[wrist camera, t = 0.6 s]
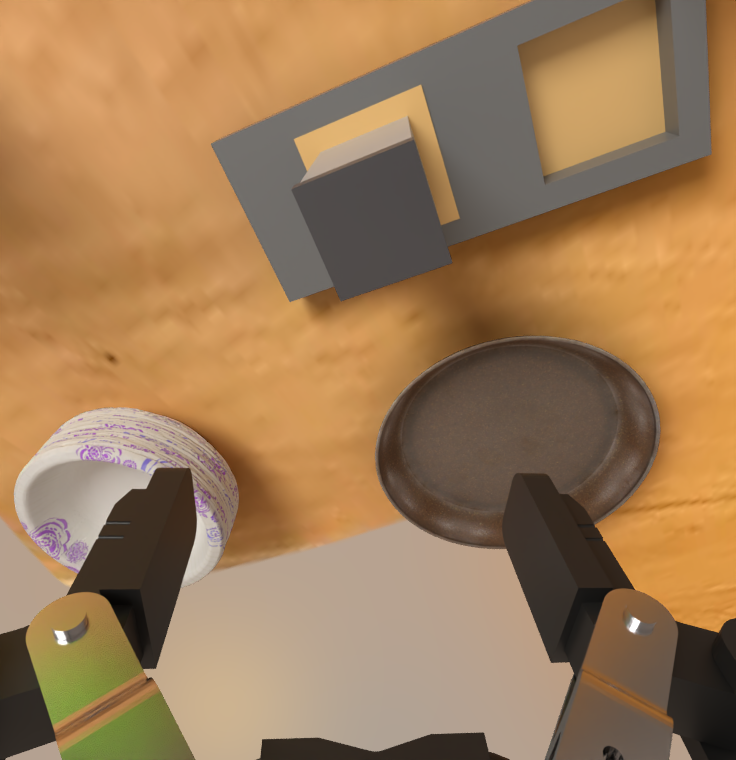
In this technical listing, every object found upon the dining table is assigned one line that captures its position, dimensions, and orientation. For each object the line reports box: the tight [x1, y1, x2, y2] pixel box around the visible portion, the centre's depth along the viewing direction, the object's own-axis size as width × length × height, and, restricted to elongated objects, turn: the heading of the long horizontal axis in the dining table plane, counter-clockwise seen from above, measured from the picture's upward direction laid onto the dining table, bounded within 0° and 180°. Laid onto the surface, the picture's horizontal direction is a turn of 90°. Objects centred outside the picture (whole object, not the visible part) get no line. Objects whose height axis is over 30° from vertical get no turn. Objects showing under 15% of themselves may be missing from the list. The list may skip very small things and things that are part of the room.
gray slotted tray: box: [211, 0, 711, 302], centre depth 26 cm, size 10×25×11 cm, turn 111°
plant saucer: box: [375, 336, 660, 549], centre depth 40 cm, size 21×21×3 cm
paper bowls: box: [14, 407, 239, 588], centre depth 41 cm, size 15×15×8 cm
